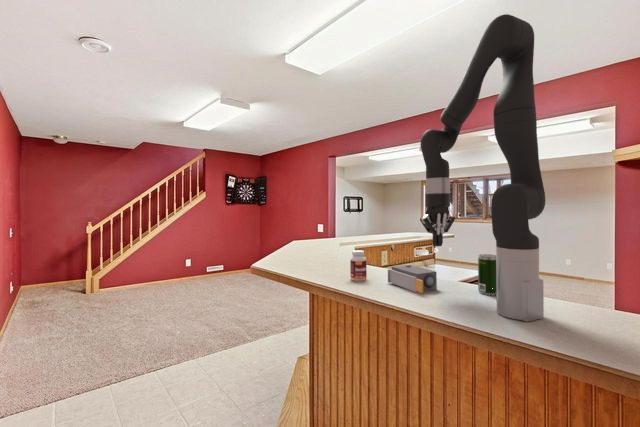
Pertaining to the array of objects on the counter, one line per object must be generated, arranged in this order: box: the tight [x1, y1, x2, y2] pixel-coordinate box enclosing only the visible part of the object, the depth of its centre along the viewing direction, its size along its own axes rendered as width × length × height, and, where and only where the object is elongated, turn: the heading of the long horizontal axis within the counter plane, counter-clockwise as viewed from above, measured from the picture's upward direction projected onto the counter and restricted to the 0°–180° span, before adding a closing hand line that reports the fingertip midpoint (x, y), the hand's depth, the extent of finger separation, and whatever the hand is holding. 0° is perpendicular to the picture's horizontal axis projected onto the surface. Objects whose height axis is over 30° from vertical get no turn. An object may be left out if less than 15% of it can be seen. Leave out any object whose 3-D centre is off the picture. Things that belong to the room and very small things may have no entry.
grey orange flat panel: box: [387, 268, 424, 294], centre depth 107 cm, size 18×1×5 cm, turn 22°
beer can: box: [477, 253, 497, 296], centre depth 100 cm, size 5×5×12 cm
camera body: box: [391, 263, 438, 293], centre depth 110 cm, size 15×8×7 cm, turn 22°
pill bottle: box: [349, 249, 368, 282], centre depth 122 cm, size 6×6×11 cm
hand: (437, 245), depth 102 cm, fingers closed
